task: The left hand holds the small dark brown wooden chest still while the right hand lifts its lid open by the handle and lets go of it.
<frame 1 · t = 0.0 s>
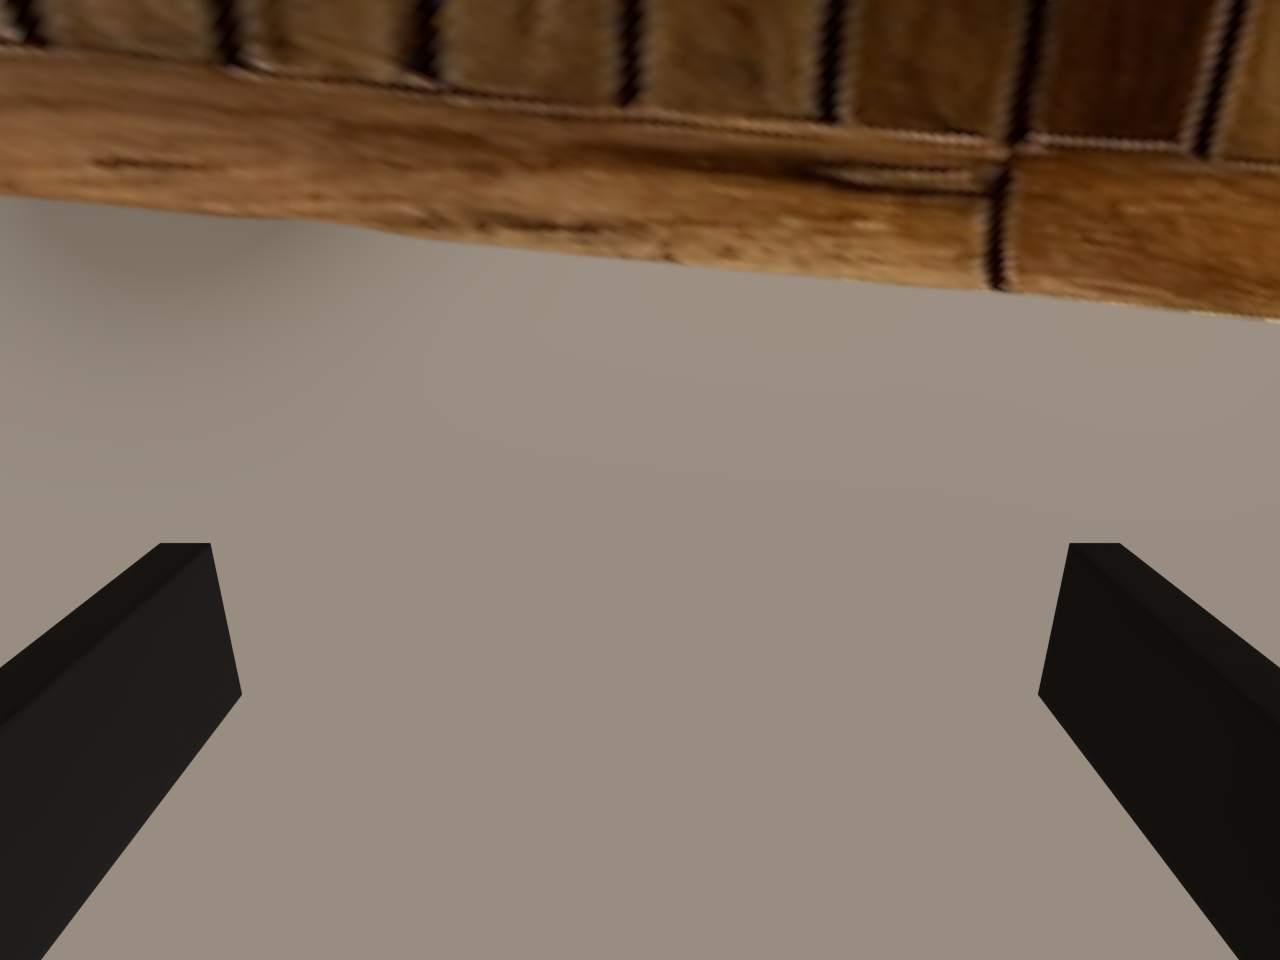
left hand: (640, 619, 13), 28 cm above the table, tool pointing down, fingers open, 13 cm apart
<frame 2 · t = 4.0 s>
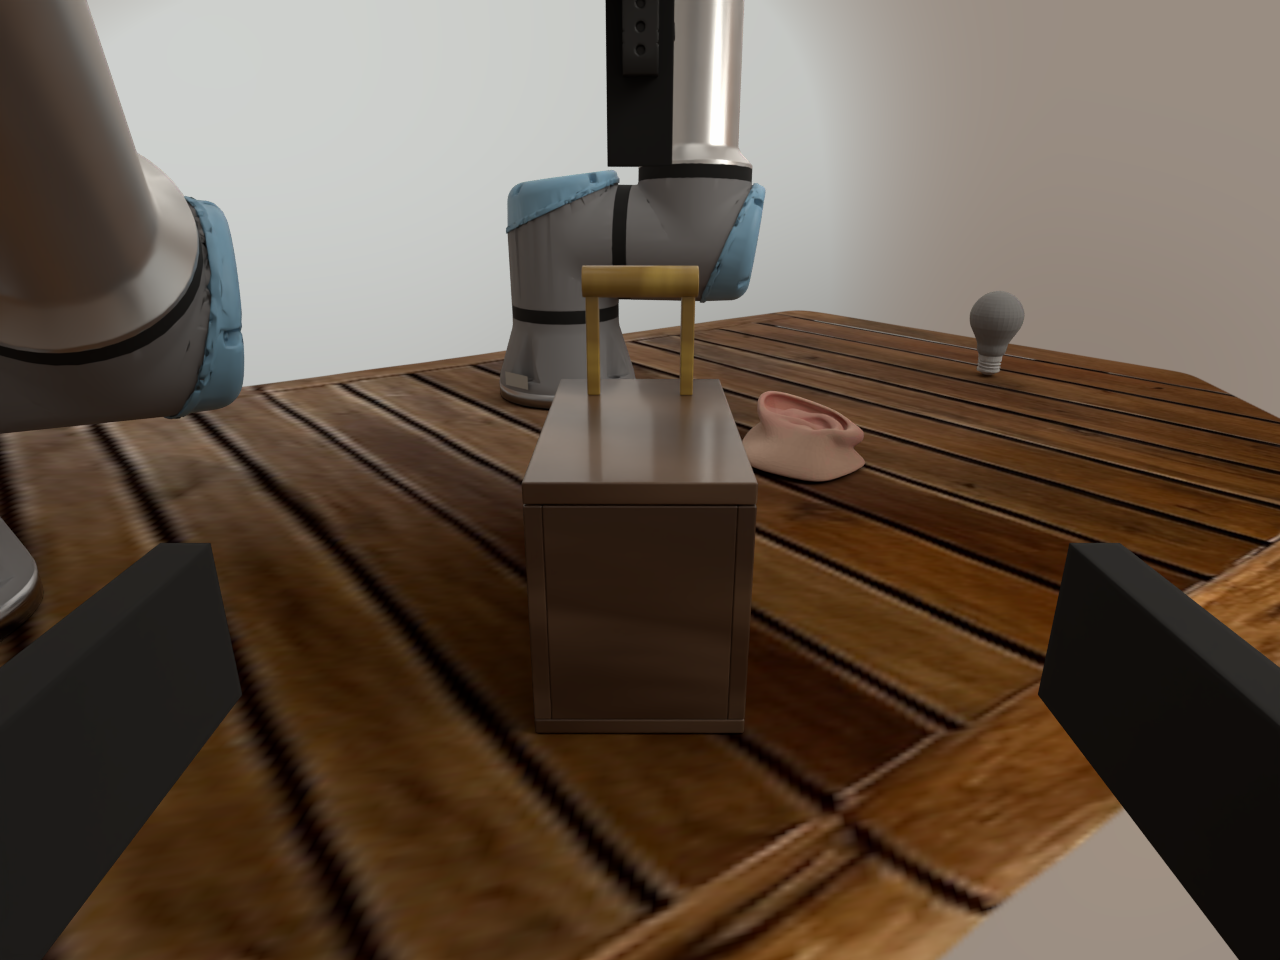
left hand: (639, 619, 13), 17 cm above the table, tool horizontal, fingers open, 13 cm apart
chest: (639, 635, 44), on the table
anatomical model: (799, 455, 72), on the table
light bulb: (987, 375, 100), on the table
lid: (640, 361, 39), point 15 cm above the table, hinge at 0.0°
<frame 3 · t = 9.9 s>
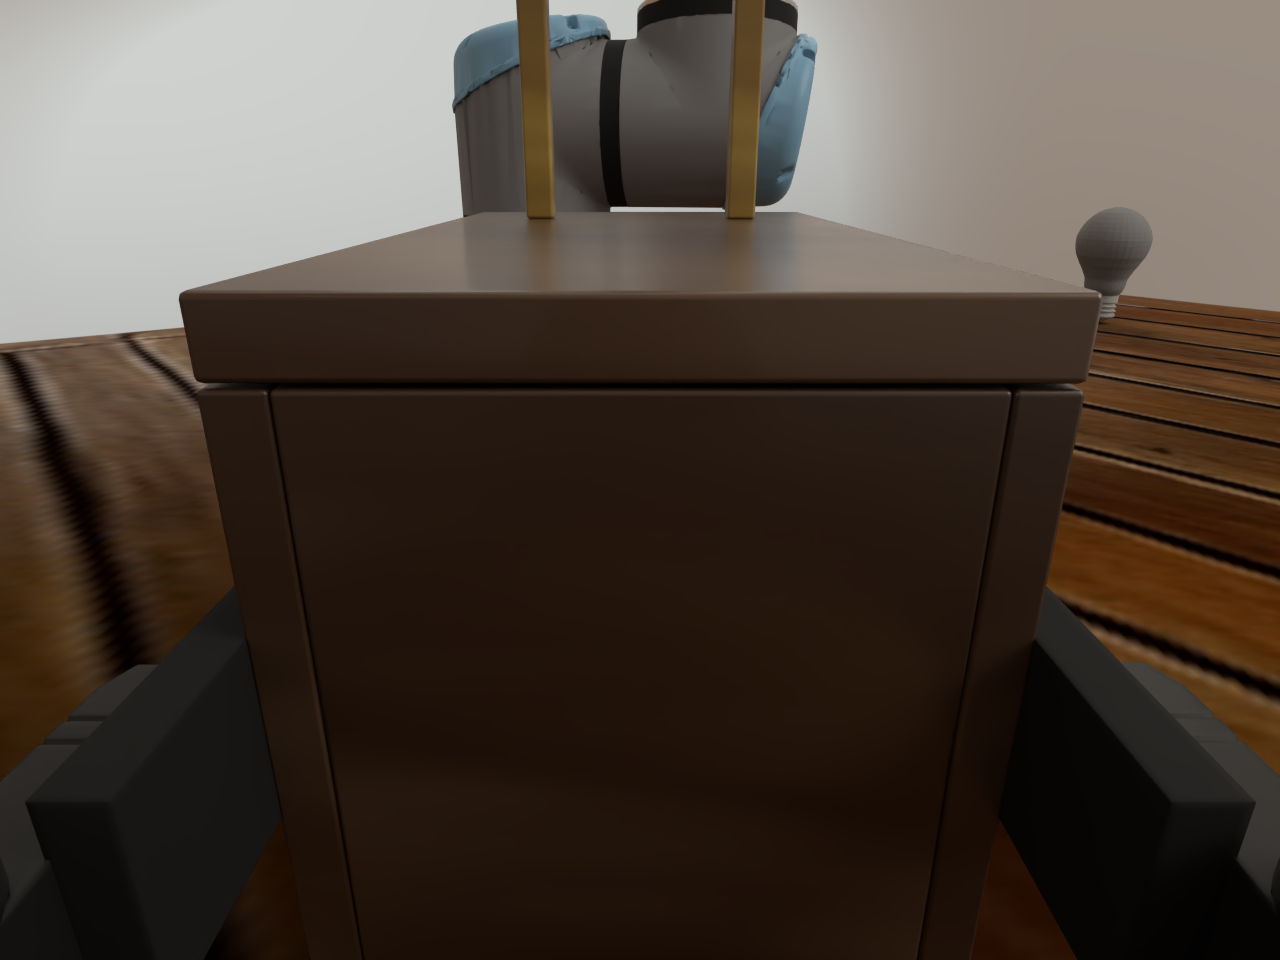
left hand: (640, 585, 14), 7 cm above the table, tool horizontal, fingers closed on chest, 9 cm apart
chest: (640, 740, 20), on the table, touching left hand
light bulb: (1096, 322, 76), on the table
lid: (640, 65, 15), point 15 cm above the table, hinge at 0.0°
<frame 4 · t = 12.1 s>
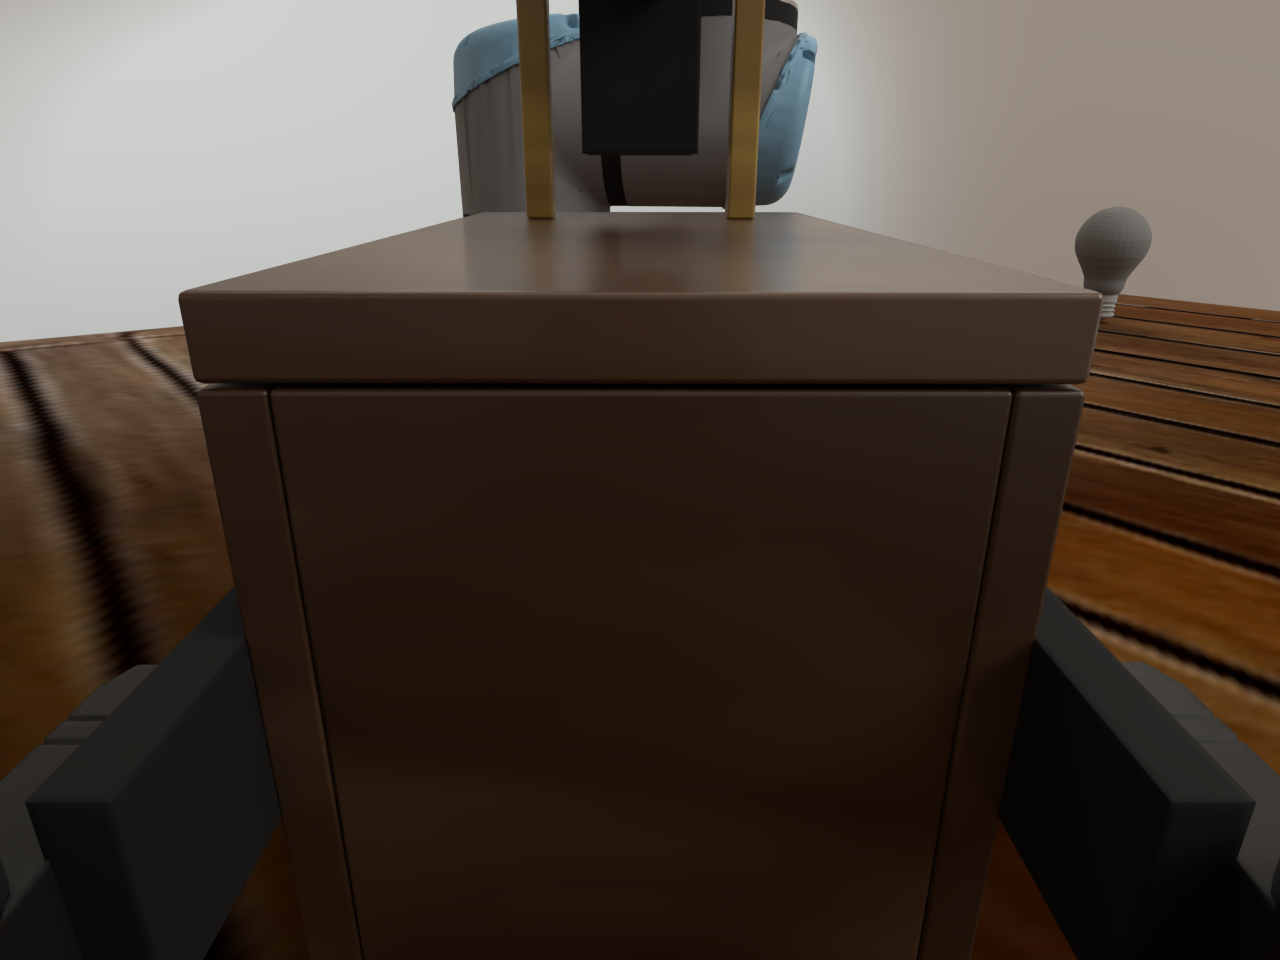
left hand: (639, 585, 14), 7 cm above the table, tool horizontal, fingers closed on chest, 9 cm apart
chest: (639, 739, 20), on the table, touching left hand
light bulb: (1096, 321, 76), on the table
lid: (640, 65, 15), point 15 cm above the table, hinge at -0.1°, touching right hand
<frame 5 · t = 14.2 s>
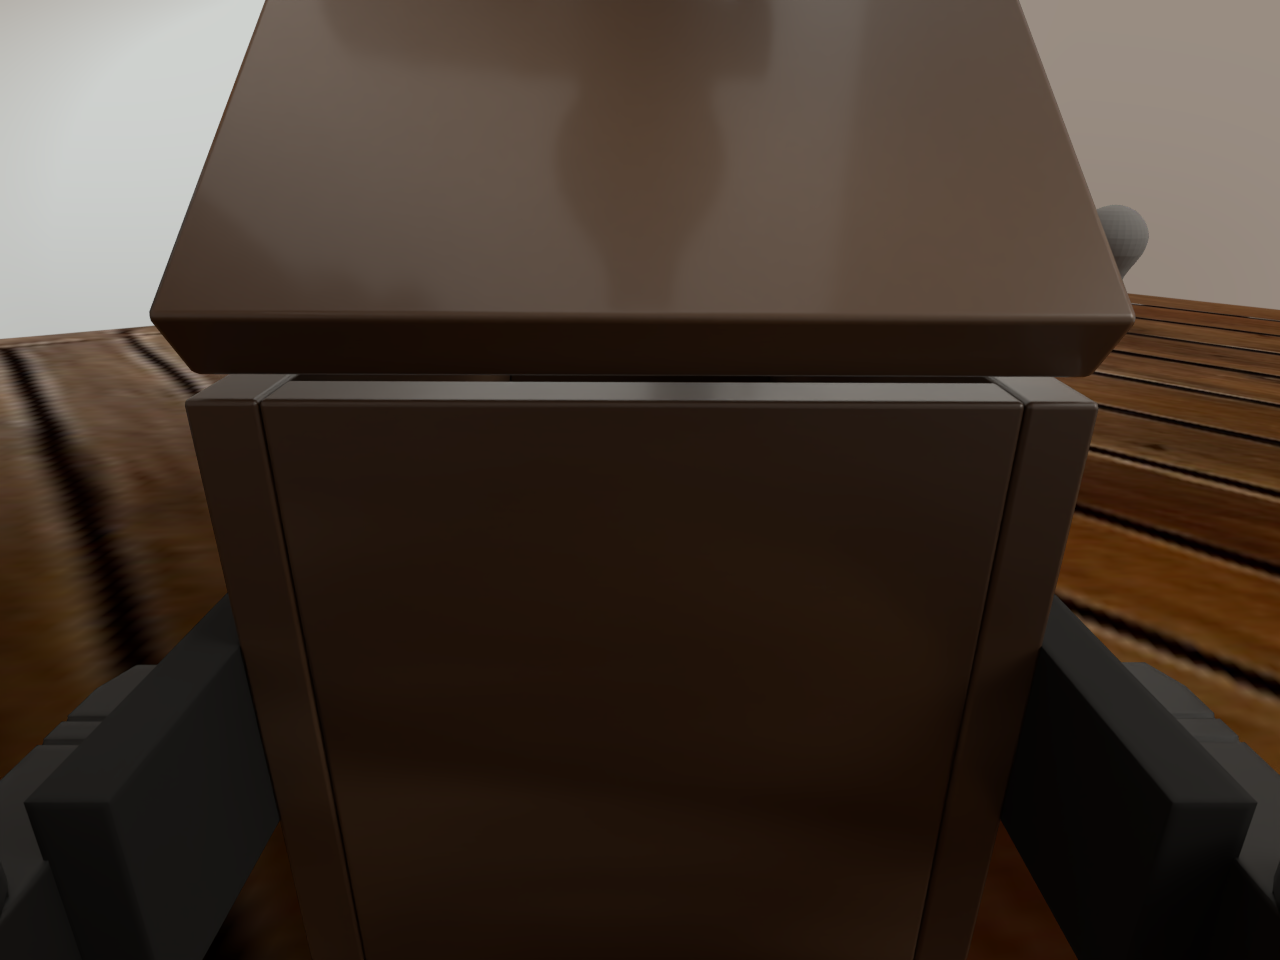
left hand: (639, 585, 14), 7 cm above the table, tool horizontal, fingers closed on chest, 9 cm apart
chest: (639, 725, 20), on the table, touching left hand
light bulb: (1093, 319, 76), on the table
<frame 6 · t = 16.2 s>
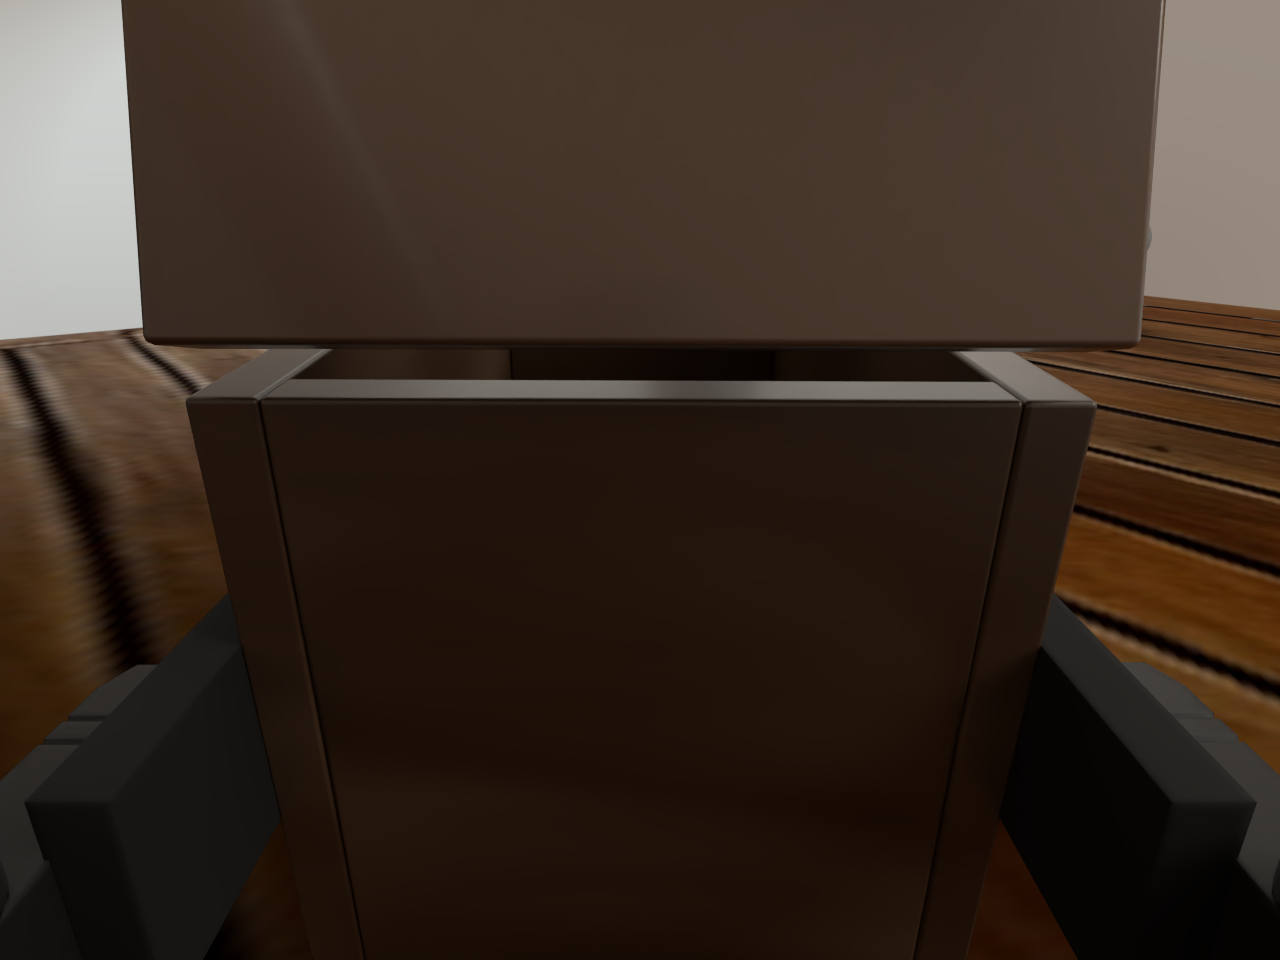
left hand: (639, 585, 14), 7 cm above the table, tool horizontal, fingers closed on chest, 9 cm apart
chest: (639, 724, 20), on the table, touching left hand
when the left hand's fingers open (7 cm above the table, at t = 20.2 s): chest stays where it is, on the table.
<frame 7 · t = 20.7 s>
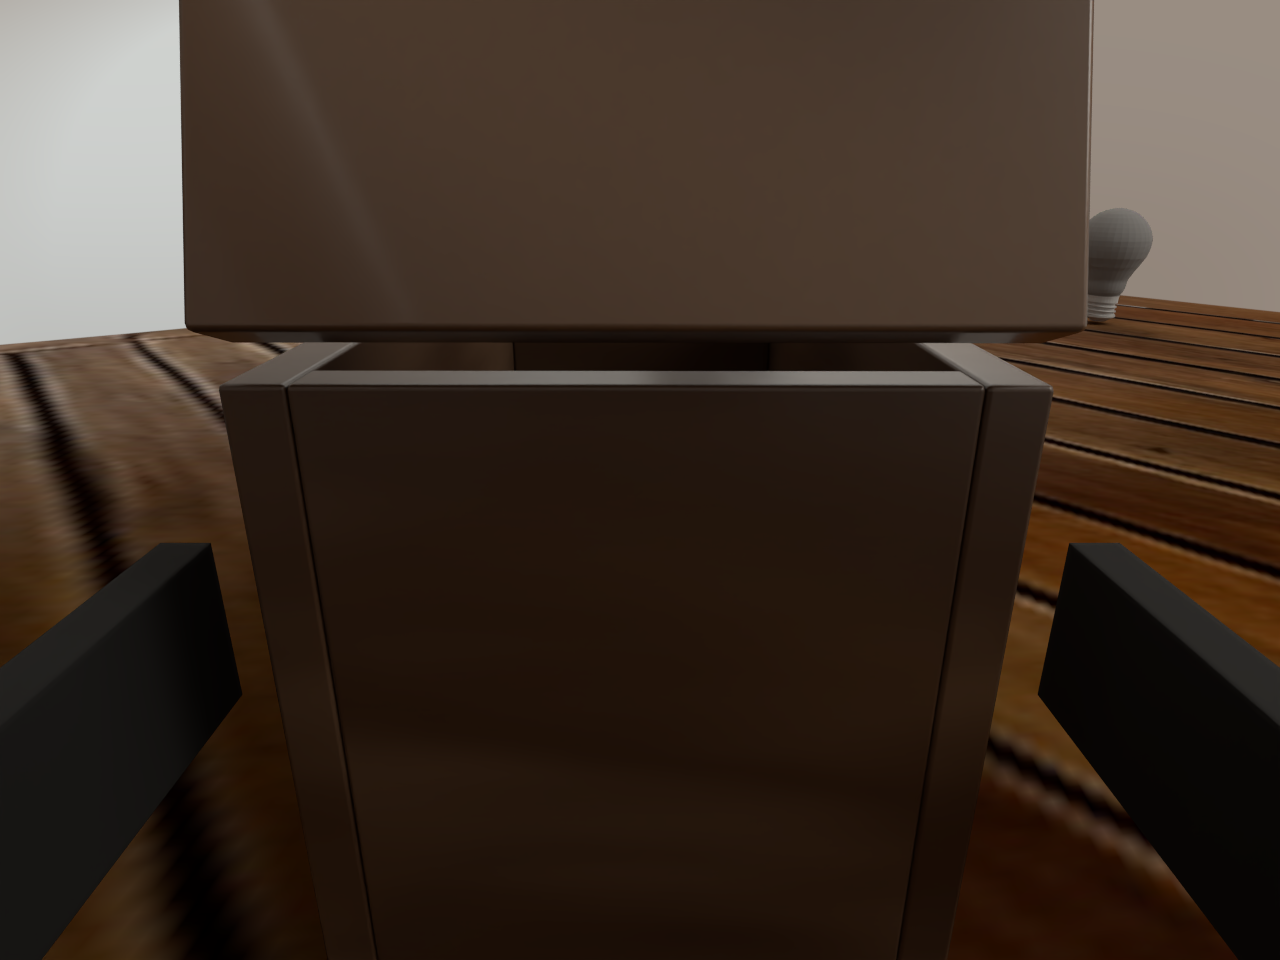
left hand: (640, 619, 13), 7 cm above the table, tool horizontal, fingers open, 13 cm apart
chest: (639, 728, 21), on the table
light bulb: (1097, 322, 76), on the table
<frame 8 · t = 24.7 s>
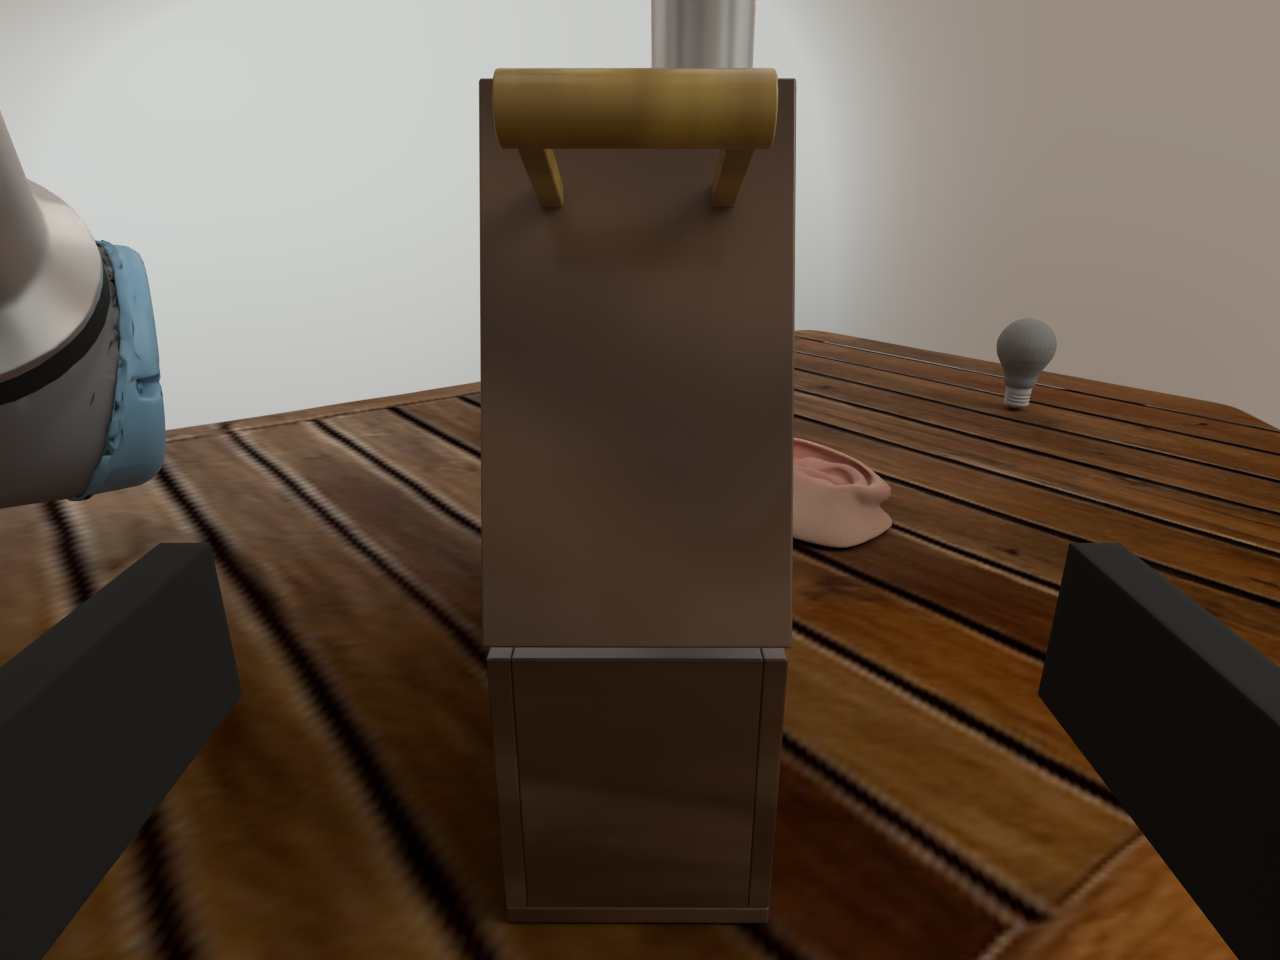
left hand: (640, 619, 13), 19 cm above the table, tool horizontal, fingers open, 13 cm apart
chest: (638, 766, 37), on the table
anatomical model: (818, 512, 64), on the table
light bulb: (1015, 408, 92), on the table
lid: (636, 354, 21), point 21 cm above the table, hinge at 71.0°
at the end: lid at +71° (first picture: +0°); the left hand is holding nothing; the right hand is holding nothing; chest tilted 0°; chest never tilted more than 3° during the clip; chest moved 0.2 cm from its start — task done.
